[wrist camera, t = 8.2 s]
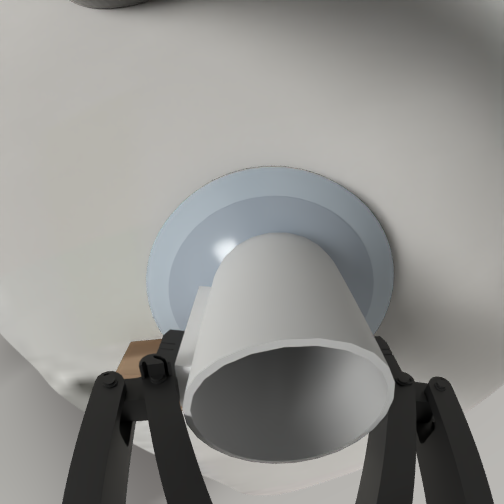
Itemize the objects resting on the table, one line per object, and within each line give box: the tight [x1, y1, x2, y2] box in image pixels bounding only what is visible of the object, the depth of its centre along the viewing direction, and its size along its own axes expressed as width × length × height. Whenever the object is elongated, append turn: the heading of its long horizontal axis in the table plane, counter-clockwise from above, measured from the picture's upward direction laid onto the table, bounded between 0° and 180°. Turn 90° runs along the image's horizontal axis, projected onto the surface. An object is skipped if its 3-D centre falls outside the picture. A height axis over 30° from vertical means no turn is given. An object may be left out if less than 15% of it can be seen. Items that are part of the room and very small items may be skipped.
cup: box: [182, 233, 395, 464], centre depth 13 cm, size 7×10×9 cm
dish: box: [146, 166, 394, 335], centre depth 19 cm, size 16×16×1 cm
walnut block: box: [116, 339, 183, 411], centre depth 20 cm, size 4×4×4 cm
